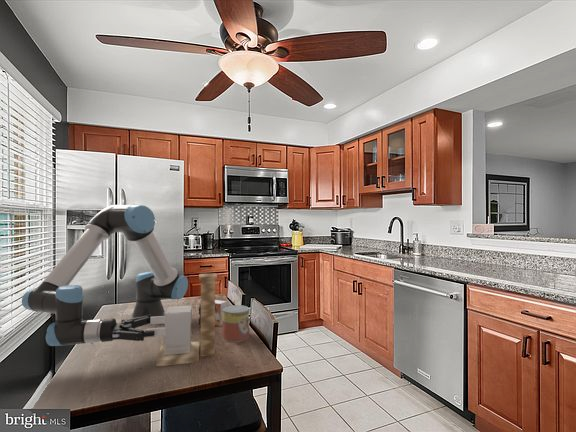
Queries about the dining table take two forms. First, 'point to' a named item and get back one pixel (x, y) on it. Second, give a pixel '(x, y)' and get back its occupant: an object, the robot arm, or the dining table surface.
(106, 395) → the dining table surface
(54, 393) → the dining table surface
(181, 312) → the supplement box
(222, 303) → the small box
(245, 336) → the canned food
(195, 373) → the dining table surface
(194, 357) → the maple pad
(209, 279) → the oak post
